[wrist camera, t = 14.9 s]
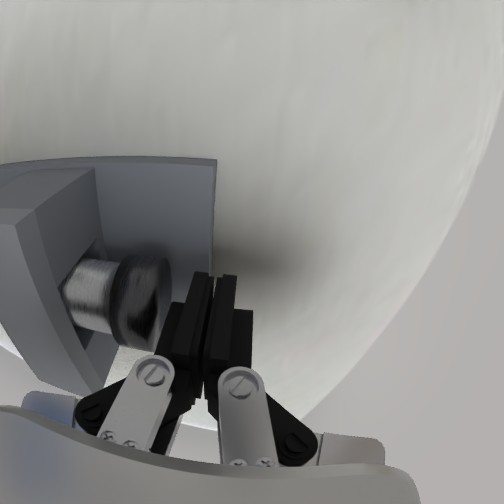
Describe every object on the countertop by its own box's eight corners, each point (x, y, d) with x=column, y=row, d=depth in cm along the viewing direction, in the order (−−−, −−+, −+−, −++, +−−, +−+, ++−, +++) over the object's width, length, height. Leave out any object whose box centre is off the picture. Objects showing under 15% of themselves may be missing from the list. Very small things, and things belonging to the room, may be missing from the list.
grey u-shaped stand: (-23, 280, 15) (-57, 325, 10) (-55, 175, 10) (-106, 212, 5) (210, 332, 16) (196, 424, 11) (217, 159, 11) (179, 232, 6)
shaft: (13, 276, 13) (-18, 316, 9) (-5, 223, 11) (-45, 260, 7) (174, 306, 13) (155, 370, 10) (169, 239, 11) (138, 302, 8)
